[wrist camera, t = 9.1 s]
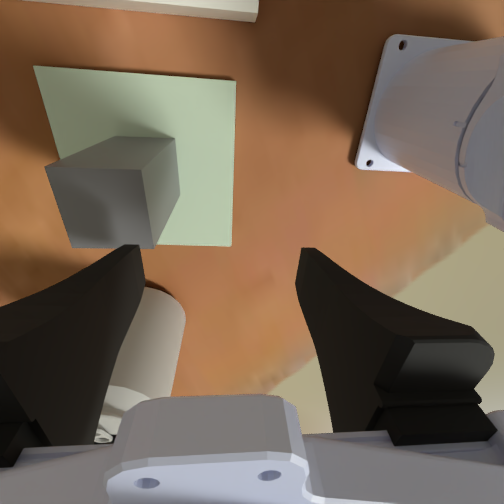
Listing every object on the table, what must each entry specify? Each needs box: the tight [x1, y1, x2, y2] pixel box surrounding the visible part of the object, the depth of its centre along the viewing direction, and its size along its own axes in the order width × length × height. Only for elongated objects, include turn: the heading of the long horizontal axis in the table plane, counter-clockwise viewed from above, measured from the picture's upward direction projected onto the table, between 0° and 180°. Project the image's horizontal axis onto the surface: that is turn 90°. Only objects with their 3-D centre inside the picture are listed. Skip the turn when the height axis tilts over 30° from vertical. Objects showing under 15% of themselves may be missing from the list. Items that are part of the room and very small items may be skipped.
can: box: [93, 287, 186, 445], centre depth 22 cm, size 8×8×12 cm
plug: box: [45, 136, 180, 249], centre depth 16 cm, size 4×4×8 cm
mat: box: [33, 66, 236, 246], centre depth 20 cm, size 12×12×1 cm
